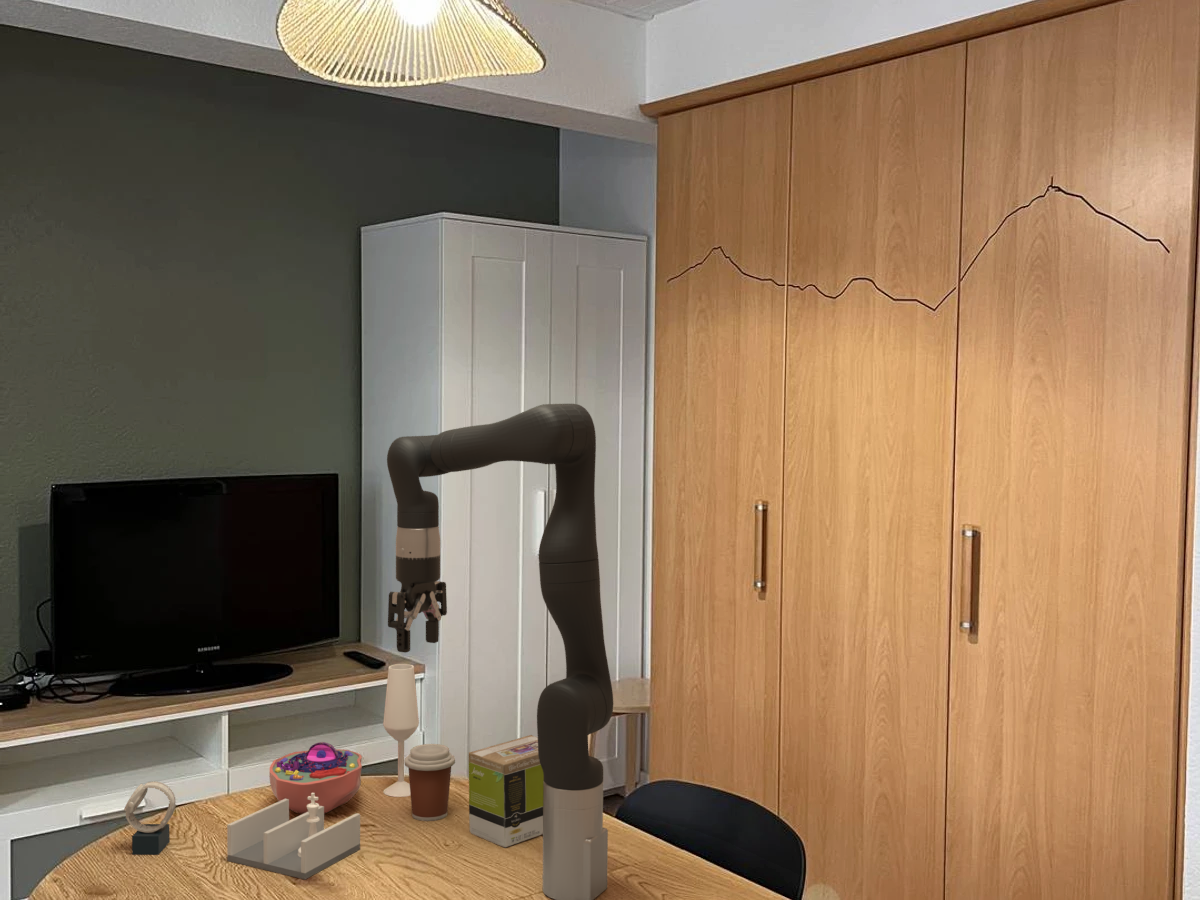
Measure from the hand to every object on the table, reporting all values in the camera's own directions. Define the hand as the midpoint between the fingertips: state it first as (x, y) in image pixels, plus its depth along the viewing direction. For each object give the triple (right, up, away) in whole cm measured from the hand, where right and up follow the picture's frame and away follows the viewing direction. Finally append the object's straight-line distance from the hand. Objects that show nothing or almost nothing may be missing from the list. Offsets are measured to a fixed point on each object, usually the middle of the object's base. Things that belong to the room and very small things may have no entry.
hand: (418, 646), depth 209 cm
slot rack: (-19, -33, -7) cm, 39 cm away
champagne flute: (-7, -32, +24) cm, 41 cm away
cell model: (-21, -32, +14) cm, 41 cm away
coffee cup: (0, -33, +12) cm, 35 cm away
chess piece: (-16, -33, -9) cm, 37 cm away
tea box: (+17, -33, +5) cm, 37 cm away
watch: (-44, -33, -5) cm, 55 cm away
